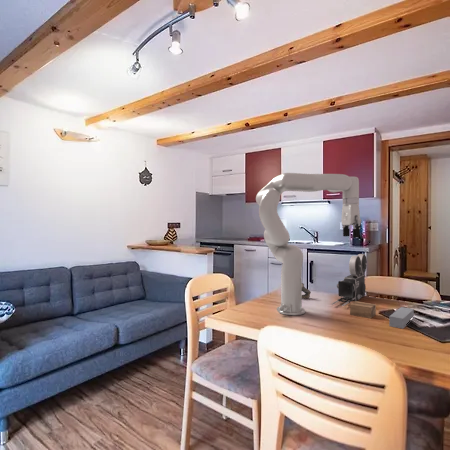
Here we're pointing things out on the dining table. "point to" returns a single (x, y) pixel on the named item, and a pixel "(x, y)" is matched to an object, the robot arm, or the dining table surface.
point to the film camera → (353, 280)
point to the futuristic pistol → (307, 292)
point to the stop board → (401, 317)
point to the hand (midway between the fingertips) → (351, 236)
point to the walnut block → (363, 309)
